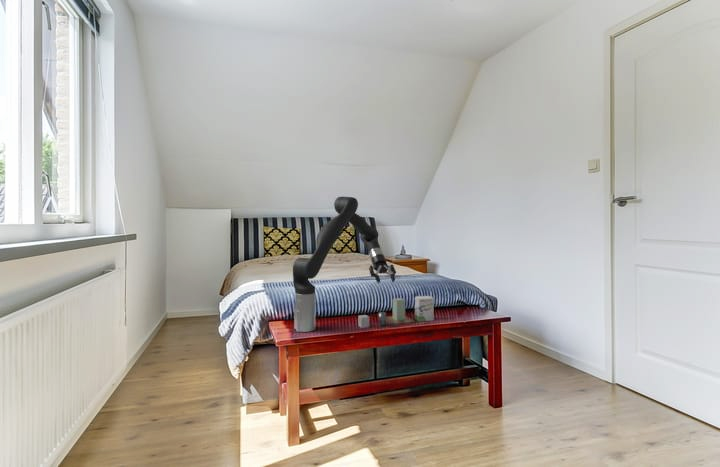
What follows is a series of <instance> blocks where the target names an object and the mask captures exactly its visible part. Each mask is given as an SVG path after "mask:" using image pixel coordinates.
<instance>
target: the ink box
mask: <svg viewBox="0 0 720 467" xmlns="http://www.w3.org/2000/svg"><path fill="white" fill-rule="evenodd" d="M434 299H435V298H434V297H433V296H431V295H421V296H415V297H414V320H415V321H417V322H428V321H434V320H435V318H434V317H435V316H434V312H435V311H434V309H435V305H434V302H435V301H434Z"/></svg>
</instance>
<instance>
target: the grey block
mask: <svg viewBox="0 0 720 467" xmlns="http://www.w3.org/2000/svg"><path fill="white" fill-rule="evenodd" d="M357 322H358V323H357V324H358V325H357V326H358V327H360V328H361V329H367V328H370V316H368V315H366V314H361V315H358V318H357Z"/></svg>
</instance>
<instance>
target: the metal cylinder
mask: <svg viewBox="0 0 720 467" xmlns="http://www.w3.org/2000/svg"><path fill="white" fill-rule="evenodd" d="M377 315H378V316H377V317H378V327H386V326H387V321H386V317H387V312H385V311H383V312H382V311H381V312H378V313H377Z"/></svg>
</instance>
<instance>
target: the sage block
mask: <svg viewBox="0 0 720 467" xmlns="http://www.w3.org/2000/svg"><path fill="white" fill-rule="evenodd" d="M392 316H393V319H395V320H397V321H398V320H405V316H406V299H404V298H402V297H398V298H392Z"/></svg>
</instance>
